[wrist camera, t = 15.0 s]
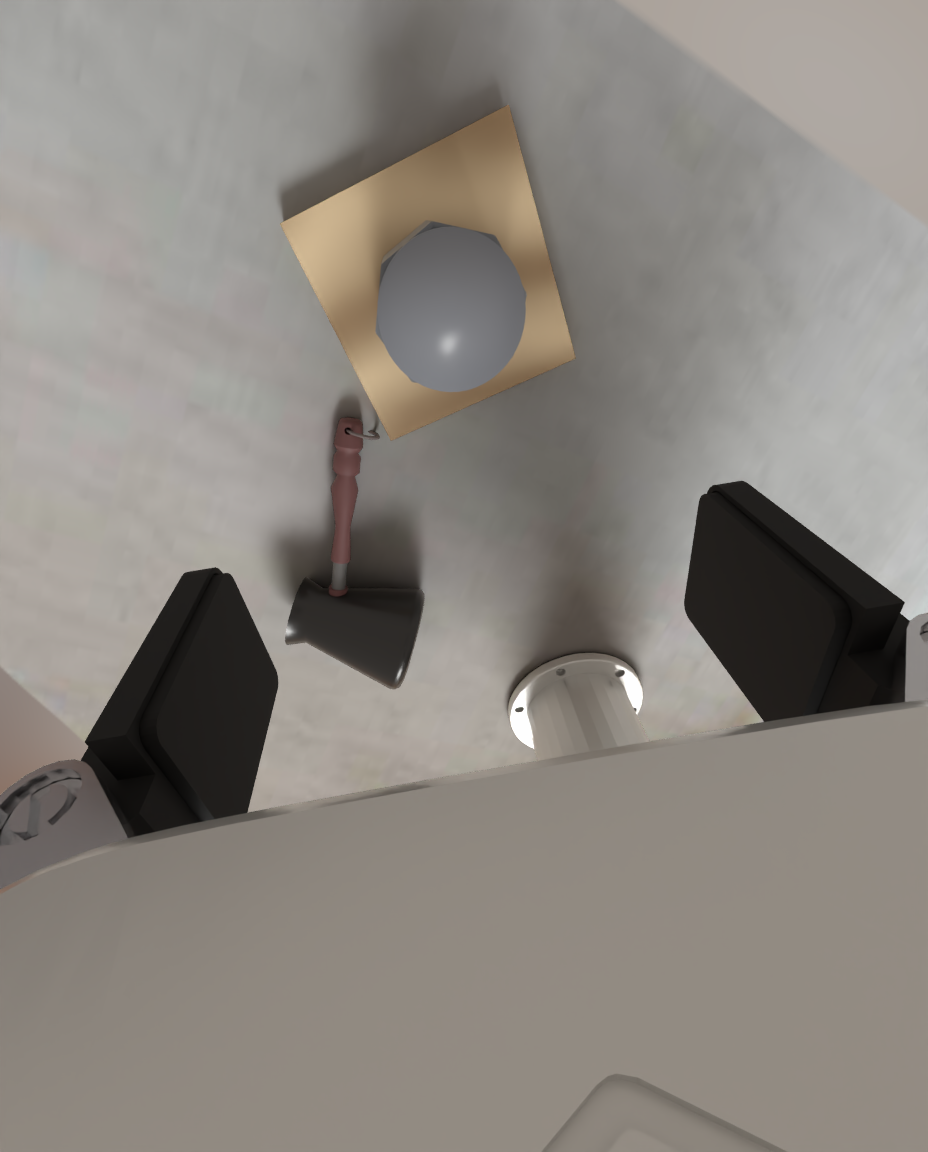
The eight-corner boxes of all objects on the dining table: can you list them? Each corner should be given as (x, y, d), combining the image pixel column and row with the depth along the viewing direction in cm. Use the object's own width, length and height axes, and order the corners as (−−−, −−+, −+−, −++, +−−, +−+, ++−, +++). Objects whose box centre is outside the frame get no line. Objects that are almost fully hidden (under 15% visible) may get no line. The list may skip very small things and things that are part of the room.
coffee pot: (405, 653, 44) (303, 627, 43) (468, 442, 36) (347, 405, 35) (395, 712, 37) (272, 684, 36) (470, 467, 30) (319, 422, 28)
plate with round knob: (570, 354, 32) (606, 383, 26) (391, 434, 33) (390, 477, 28) (504, 108, 25) (535, 79, 20) (284, 223, 27) (255, 225, 21)
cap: (387, 211, 25) (385, 210, 20) (515, 240, 26) (542, 245, 22) (374, 352, 28) (371, 380, 24) (489, 371, 30) (507, 402, 25)
